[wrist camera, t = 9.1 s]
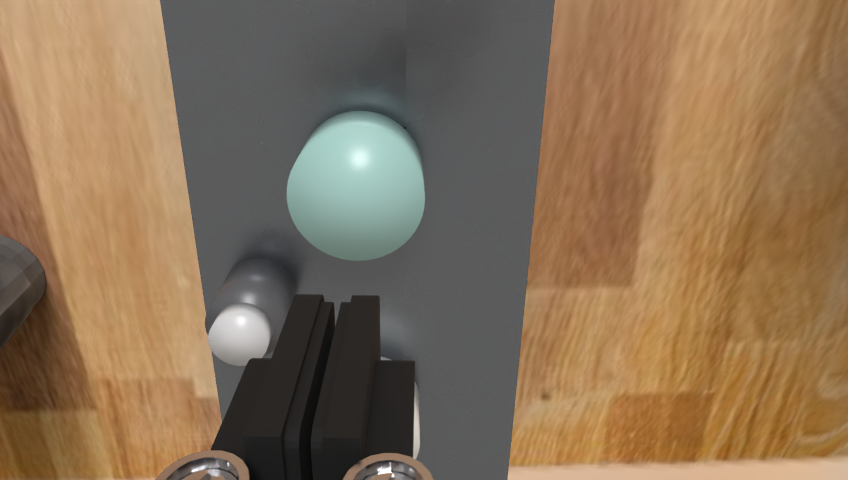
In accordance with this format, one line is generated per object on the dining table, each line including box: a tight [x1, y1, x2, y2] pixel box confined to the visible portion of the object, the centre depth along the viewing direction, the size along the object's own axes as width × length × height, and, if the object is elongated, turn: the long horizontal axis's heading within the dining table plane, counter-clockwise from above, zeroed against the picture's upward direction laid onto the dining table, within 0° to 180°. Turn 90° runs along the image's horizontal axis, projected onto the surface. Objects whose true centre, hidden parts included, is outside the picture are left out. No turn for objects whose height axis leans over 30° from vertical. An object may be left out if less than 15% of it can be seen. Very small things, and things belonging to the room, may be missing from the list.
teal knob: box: [287, 111, 425, 261], centre depth 25 cm, size 5×5×8 cm
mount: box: [160, 0, 555, 480], centre depth 29 cm, size 14×24×5 cm, turn 179°
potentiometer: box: [205, 258, 296, 366], centre depth 25 cm, size 3×3×4 cm
